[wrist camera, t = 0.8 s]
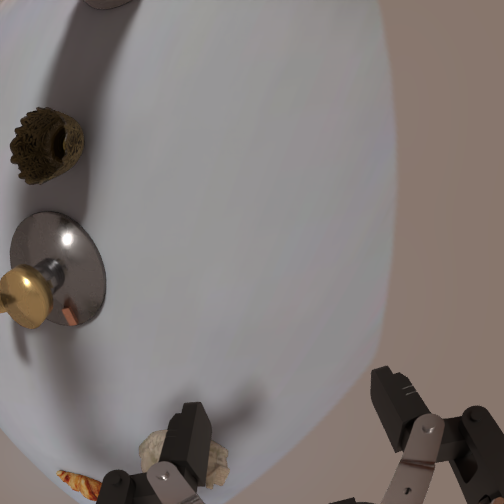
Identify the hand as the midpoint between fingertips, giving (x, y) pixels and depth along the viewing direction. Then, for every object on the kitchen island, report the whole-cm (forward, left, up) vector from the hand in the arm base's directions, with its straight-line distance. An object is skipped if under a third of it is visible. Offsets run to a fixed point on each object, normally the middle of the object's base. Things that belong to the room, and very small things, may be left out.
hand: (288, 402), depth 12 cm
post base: (-3, -26, -23) cm, 35 cm away
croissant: (+58, -62, -23) cm, 88 cm away
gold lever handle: (-3, -30, -16) cm, 34 cm away
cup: (-17, -17, -23) cm, 33 cm away
